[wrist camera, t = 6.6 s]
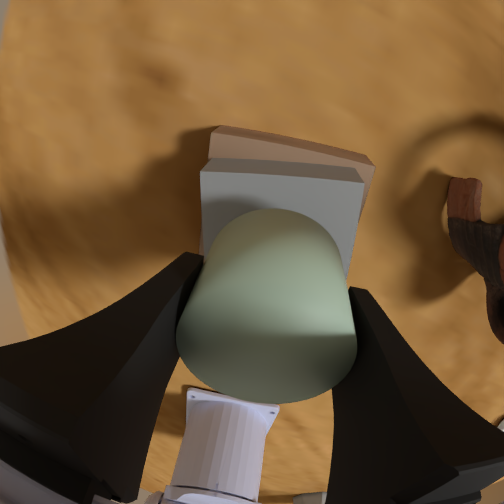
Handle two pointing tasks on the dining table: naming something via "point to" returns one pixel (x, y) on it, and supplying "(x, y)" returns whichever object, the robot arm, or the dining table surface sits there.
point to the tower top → (282, 196)
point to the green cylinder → (269, 311)
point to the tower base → (283, 153)
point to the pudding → (501, 426)
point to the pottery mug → (478, 244)
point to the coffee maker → (310, 498)
